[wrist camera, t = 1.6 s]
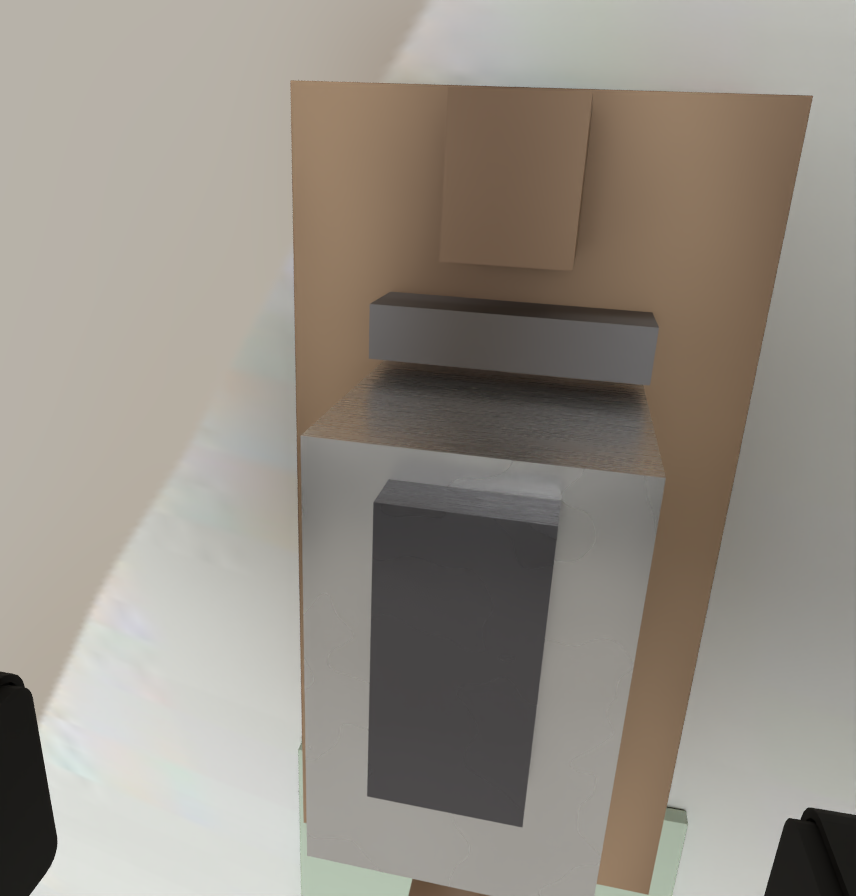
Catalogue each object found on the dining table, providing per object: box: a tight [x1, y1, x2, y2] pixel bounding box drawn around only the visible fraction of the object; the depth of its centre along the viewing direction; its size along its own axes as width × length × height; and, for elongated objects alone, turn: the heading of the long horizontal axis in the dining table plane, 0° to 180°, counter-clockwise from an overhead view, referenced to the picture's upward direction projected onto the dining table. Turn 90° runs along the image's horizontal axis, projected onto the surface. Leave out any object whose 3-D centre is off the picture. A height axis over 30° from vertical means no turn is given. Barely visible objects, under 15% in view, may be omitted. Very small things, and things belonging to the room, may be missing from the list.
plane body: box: [291, 81, 813, 896], centre depth 17 cm, size 9×18×7 cm, turn 177°
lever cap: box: [300, 360, 666, 896], centre depth 13 cm, size 5×8×6 cm, turn 177°
